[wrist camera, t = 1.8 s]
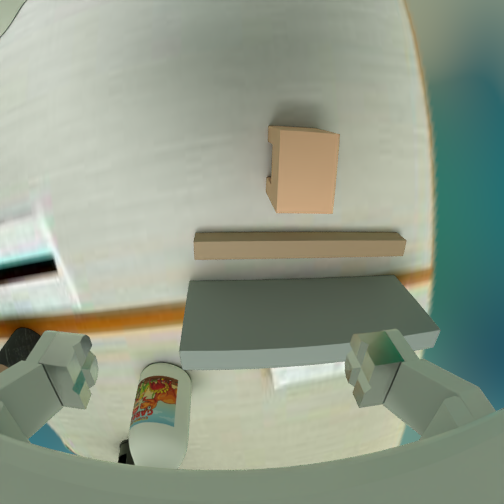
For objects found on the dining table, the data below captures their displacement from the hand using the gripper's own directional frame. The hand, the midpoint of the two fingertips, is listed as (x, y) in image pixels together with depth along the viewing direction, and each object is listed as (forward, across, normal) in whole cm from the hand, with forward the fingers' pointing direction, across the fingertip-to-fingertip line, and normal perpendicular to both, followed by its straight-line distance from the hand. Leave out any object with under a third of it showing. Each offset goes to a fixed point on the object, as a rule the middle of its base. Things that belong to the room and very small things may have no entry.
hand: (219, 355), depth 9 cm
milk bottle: (+27, +9, +29) cm, 40 cm away
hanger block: (+26, -7, -2) cm, 27 cm away
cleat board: (+26, -9, +10) cm, 29 cm away
